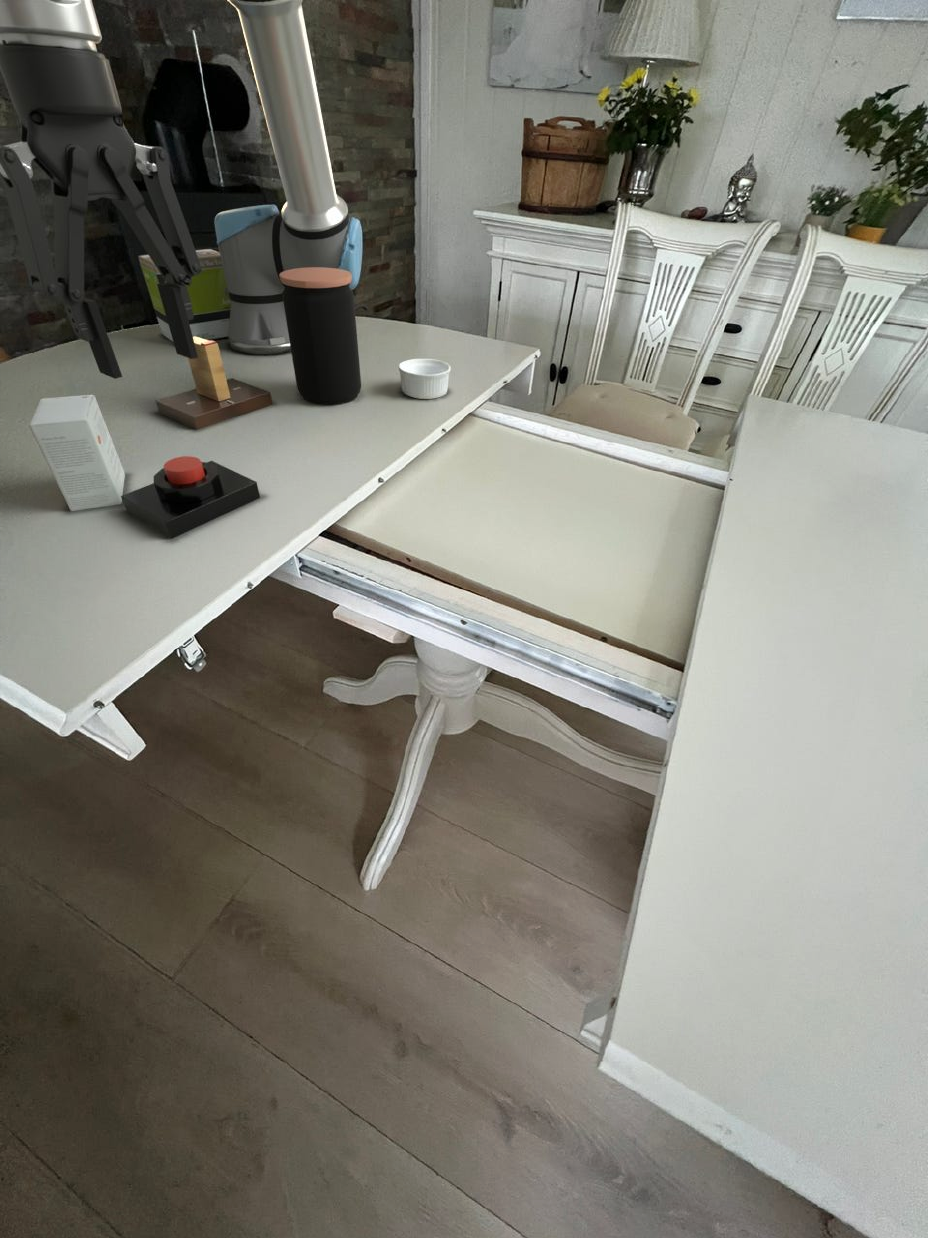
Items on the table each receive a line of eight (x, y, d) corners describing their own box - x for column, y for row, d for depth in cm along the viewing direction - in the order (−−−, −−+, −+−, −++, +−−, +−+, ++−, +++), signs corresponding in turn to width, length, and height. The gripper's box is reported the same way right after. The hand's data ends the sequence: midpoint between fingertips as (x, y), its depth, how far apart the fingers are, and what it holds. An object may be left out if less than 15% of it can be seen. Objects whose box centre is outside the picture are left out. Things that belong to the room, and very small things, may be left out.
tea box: (230, 324, 128) (212, 247, 118) (248, 335, 122) (231, 254, 112) (160, 334, 120) (136, 252, 111) (176, 346, 114) (152, 261, 105)
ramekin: (440, 381, 104) (440, 356, 101) (457, 397, 98) (458, 371, 95) (393, 385, 101) (392, 360, 98) (408, 403, 95) (407, 376, 92)
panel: (234, 389, 97) (231, 376, 96) (272, 404, 93) (270, 390, 92) (159, 413, 89) (154, 399, 87) (197, 430, 84) (193, 415, 83)
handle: (197, 393, 90) (182, 337, 85) (209, 389, 91) (195, 334, 86) (218, 401, 88) (204, 344, 82) (230, 397, 89) (217, 341, 84)
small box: (77, 481, 71) (39, 397, 65) (126, 475, 73) (94, 392, 66) (69, 512, 66) (26, 424, 59) (122, 505, 67) (86, 418, 61)
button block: (215, 476, 74) (207, 446, 71) (260, 498, 70) (253, 468, 67) (127, 512, 66) (114, 481, 64) (171, 539, 62) (159, 507, 60)
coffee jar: (368, 386, 100) (359, 268, 89) (353, 408, 92) (341, 282, 81) (309, 382, 101) (292, 265, 89) (289, 404, 93) (268, 278, 81)
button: (192, 466, 68) (187, 452, 67) (212, 476, 66) (208, 462, 65) (161, 478, 65) (156, 464, 64) (181, 489, 64) (176, 475, 62)
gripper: (-97, 24, 35) (65, 401, 50) (199, 57, 47) (257, 349, 62) (-138, 29, 38) (25, 381, 53) (149, 59, 50) (215, 336, 65)
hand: (150, 364), depth 57 cm, fingers open, 7 cm apart
